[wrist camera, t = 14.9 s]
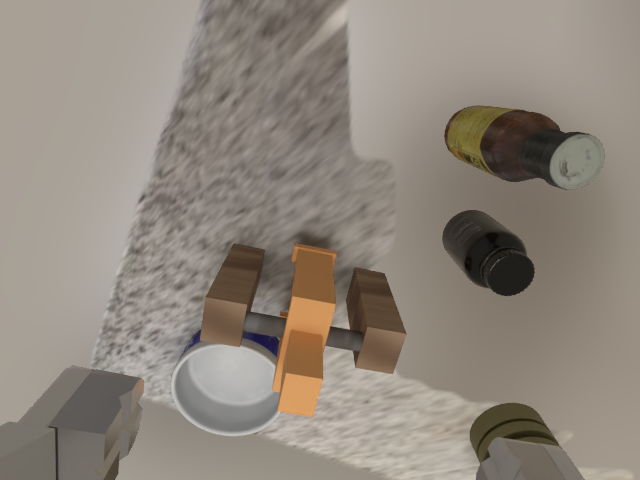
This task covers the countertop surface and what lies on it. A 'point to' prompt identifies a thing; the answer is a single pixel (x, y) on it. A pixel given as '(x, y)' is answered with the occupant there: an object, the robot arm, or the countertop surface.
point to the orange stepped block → (305, 330)
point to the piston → (508, 427)
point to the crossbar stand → (235, 317)
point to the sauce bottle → (523, 146)
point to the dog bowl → (228, 384)
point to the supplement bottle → (488, 253)
